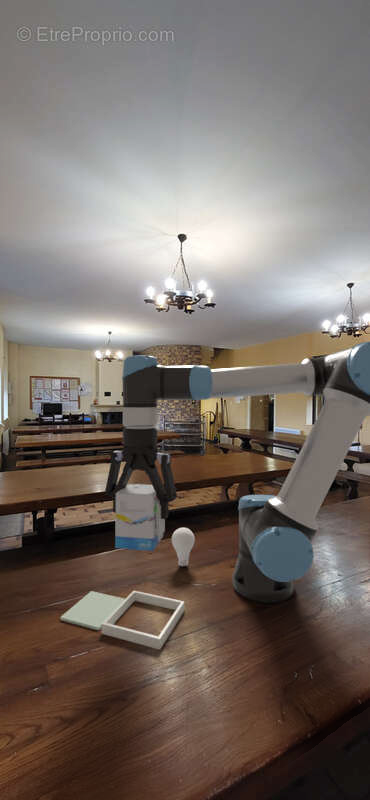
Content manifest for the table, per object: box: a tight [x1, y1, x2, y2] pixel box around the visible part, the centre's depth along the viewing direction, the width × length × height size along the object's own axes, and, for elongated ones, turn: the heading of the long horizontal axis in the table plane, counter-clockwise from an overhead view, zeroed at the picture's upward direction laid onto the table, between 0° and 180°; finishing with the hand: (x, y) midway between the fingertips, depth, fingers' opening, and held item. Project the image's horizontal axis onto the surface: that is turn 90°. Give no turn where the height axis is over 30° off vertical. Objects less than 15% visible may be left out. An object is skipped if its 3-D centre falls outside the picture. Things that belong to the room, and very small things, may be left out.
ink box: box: [114, 483, 164, 552], centre depth 74 cm, size 8×8×12 cm
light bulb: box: [171, 527, 196, 567], centre depth 98 cm, size 7×7×11 cm
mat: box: [59, 590, 126, 631], centre depth 78 cm, size 10×11×1 cm
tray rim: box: [101, 590, 186, 650], centre depth 74 cm, size 13×13×2 cm
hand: (140, 530), depth 74 cm, fingers closed on ink box, 9 cm apart
